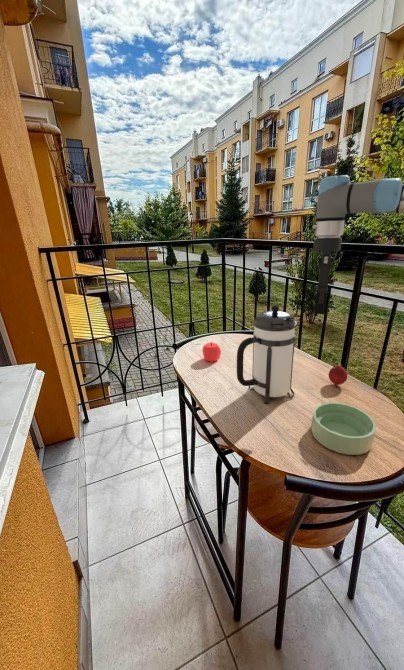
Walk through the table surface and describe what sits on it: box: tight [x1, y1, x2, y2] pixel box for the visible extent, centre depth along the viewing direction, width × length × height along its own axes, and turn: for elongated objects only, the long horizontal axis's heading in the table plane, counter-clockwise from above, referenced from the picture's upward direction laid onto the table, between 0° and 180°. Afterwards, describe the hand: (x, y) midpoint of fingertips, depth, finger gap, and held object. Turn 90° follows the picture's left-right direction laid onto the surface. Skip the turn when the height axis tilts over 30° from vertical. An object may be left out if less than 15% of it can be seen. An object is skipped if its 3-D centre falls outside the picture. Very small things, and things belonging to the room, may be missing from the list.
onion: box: [328, 363, 349, 386], centre depth 95 cm, size 6×6×8 cm
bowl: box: [310, 402, 377, 456], centre depth 72 cm, size 14×14×6 cm
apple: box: [201, 341, 222, 363], centre depth 118 cm, size 8×8×8 cm
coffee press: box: [236, 304, 298, 405], centre depth 87 cm, size 17×16×30 cm
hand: (319, 307), depth 89 cm, fingers open, 13 cm apart
